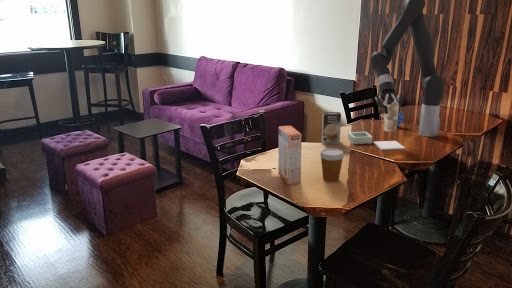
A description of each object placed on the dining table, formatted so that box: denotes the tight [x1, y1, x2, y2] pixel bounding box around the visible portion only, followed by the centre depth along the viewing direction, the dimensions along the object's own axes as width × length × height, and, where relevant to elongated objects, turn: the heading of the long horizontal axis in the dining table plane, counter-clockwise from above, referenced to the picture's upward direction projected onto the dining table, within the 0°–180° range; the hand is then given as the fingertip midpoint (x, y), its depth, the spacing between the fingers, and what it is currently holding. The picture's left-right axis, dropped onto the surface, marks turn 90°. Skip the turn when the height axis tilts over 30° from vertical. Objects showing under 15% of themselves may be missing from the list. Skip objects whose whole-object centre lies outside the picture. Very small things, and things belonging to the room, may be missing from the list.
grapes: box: [397, 111, 404, 127], centre depth 235 cm, size 12×7×12 cm, turn 47°
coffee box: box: [321, 111, 342, 145], centre depth 206 cm, size 9×6×16 cm
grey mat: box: [372, 140, 406, 151], centre depth 200 cm, size 12×12×1 cm
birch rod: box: [382, 103, 400, 133], centre depth 196 cm, size 5×5×13 cm
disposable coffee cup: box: [319, 147, 345, 183], centre depth 158 cm, size 10×10×12 cm
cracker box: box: [277, 125, 303, 185], centre depth 160 cm, size 14×6×21 cm, turn 12°
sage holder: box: [347, 131, 373, 145], centre depth 209 cm, size 10×10×4 cm
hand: (392, 113), depth 194 cm, fingers closed on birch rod, 5 cm apart
